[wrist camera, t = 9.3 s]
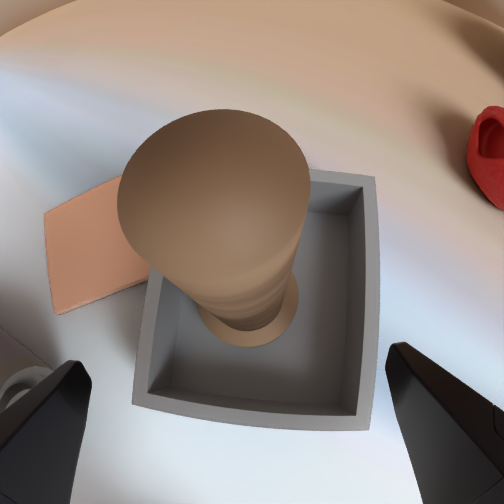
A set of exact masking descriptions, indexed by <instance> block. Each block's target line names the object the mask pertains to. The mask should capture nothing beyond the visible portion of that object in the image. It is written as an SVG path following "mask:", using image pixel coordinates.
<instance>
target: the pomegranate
mask: <svg viewBox="0 0 504 504" xmlns="http://www.w3.org/2000/svg"><path fill="white" fill-rule="evenodd" d="M466 156H467V164H468V167H469V170H470V172H471V175H472V177H473V179H474V180H475V181H476V183H477V184H478V186H479V188H480V189H481V190H482V191H483V193H484V194H485V195H486V196H487V198H488V199H489V200H490V201H491V202H492V203H493V204H494V205H495V206H496V207H498V208H499V209H501V210H504V108H502V107H499V106H489V107H487V108H485V109H484V110H483V111H482V113H481V114H479V115H478V116H477V118H476V121H475V124H474V125H473V127H472V129H471V132H470V137H469V141H468V147H467V154H466Z"/></svg>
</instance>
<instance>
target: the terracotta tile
mask: <svg viewBox="0 0 504 504" xmlns="http://www.w3.org/2000/svg"><path fill="white" fill-rule="evenodd" d="M121 177H122V175H121V176H118V177H116V178H114V179H112V180H110V181H108V182H105V183H103V184H101V185H99V186H97V187H95V188H93V189H91V190H89V191H87V192H85V193H83V194H81V195H79V196H77V197H75V198H73V199H71V200H69V201H67V202H65V203H63V204H62V205H60V206H58V207H56V208H54V209H52V210H50V211H49V212H47V213H45V214H44V223H45V241H46V253H47V264H48V273H49V281H50V289H51V296H52V302H53V308H54V313H56V314H63V313H65V312H68V311H70V310H73V309H76V308H78V307H81V306H83V305H86V304H88V303H91V302H93V301H96V300H98V299H101V298H103V297H106V296H109V295H111V294H114V293H116V292H119V291H121V290H124V289H126V288H129V287H132V286H134V285H137V284H139V283H142V282H144V281H147V280H148V278H149V273H150V268H151V265H150V264H149V263H147V262H146V261H145V260H144V259H143V258H141V257H140V256H139V255H138V254H137V253H136V251H135V250H134V249H133V248H132V247H131V245H130V244H129V242H128V241H127V239H126V238H125V235H124V233H123V231H122V229H121V226H120V222H119V219H118V212H117V194H118V188H119V184H120V181H121Z"/></svg>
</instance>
